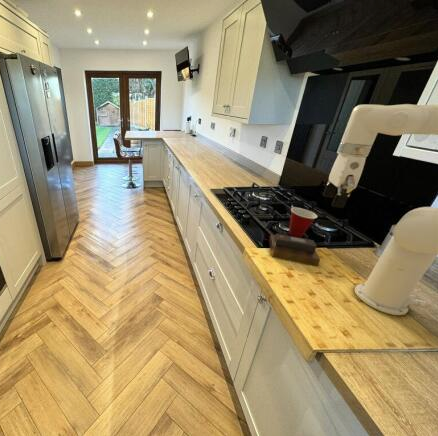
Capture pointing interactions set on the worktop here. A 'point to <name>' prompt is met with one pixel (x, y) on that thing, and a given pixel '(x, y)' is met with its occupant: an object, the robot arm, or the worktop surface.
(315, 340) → the worktop surface
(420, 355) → the worktop surface
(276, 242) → the remote
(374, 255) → the worktop surface
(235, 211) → the worktop surface
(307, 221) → the plastic cup
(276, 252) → the block
